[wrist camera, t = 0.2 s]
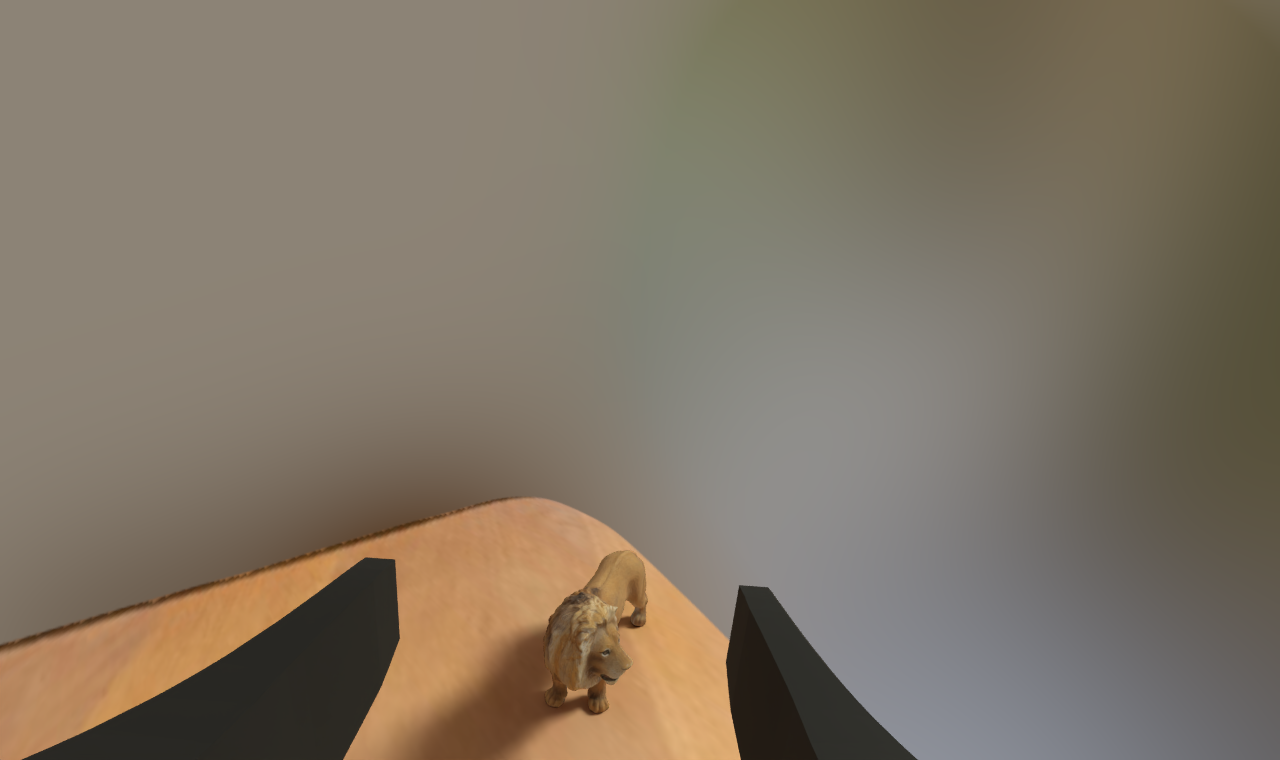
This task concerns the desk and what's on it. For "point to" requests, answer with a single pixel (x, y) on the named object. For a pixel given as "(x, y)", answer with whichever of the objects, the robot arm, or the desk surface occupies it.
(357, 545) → the desk surface
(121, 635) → the desk surface
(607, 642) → the lion figurine
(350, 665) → the robot arm
